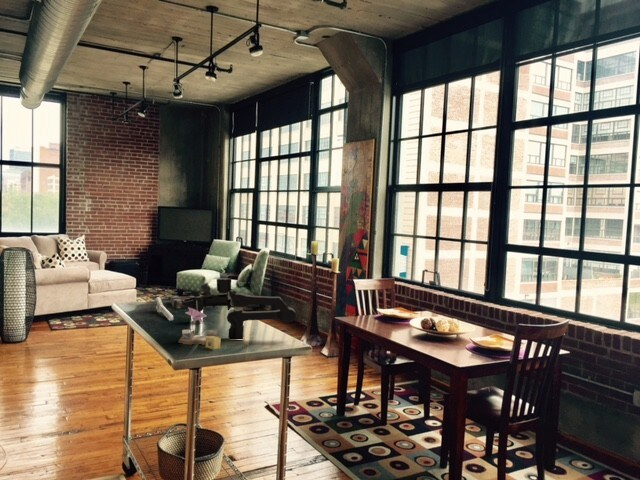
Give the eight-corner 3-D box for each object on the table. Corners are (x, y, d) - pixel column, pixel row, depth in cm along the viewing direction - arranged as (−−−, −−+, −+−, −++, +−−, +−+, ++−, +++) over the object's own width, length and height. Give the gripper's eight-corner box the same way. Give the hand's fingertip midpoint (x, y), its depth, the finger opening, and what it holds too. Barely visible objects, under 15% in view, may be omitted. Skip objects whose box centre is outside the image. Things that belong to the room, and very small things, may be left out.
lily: (207, 328, 278) (211, 310, 282) (187, 320, 272) (192, 302, 276) (195, 330, 287) (200, 313, 291) (176, 323, 280) (181, 306, 285)
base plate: (220, 339, 250) (221, 327, 250) (216, 345, 239) (217, 333, 239) (183, 337, 250) (184, 326, 249) (178, 343, 239) (178, 331, 238)
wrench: (169, 326, 285) (154, 309, 310) (172, 326, 286) (157, 309, 310) (170, 311, 283) (155, 295, 308) (174, 311, 284) (158, 295, 309)
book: (193, 303, 342) (194, 295, 341) (200, 310, 319) (200, 302, 318) (169, 303, 336) (170, 295, 336) (174, 311, 313) (175, 302, 313)
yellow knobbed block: (212, 346, 238) (213, 335, 237) (220, 349, 234) (221, 337, 234) (205, 348, 234) (205, 336, 234) (213, 350, 231) (213, 339, 231)
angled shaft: (192, 337, 246) (192, 328, 245) (194, 338, 243) (195, 330, 243) (181, 338, 243) (181, 329, 243) (183, 339, 240) (184, 330, 240)
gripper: (218, 281, 261) (185, 282, 259) (215, 285, 243) (179, 287, 241) (219, 303, 261) (186, 305, 260) (216, 310, 243) (180, 312, 241)
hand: (183, 302), depth 250 cm, fingers open, 9 cm apart
